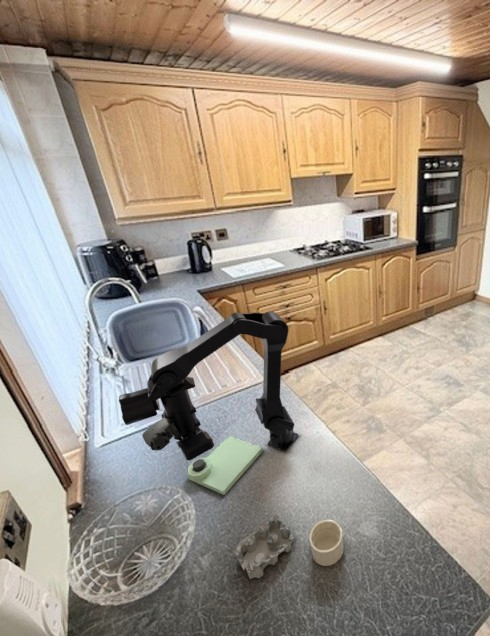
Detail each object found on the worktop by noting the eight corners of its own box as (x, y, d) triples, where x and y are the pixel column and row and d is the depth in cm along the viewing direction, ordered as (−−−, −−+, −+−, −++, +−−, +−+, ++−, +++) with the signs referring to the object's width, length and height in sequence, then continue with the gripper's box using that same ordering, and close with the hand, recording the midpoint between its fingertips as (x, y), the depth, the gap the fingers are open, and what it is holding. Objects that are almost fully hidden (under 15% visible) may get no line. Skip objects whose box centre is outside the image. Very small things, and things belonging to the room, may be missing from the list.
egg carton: (251, 586, 67) (247, 574, 65) (235, 557, 72) (230, 545, 70) (298, 546, 73) (295, 534, 72) (279, 522, 78) (276, 510, 77)
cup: (322, 529, 76) (320, 515, 74) (349, 541, 74) (347, 526, 72) (306, 559, 71) (303, 544, 69) (334, 573, 68) (332, 557, 66)
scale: (228, 438, 102) (226, 430, 101) (263, 451, 97) (261, 443, 96) (185, 479, 90) (182, 471, 89) (223, 496, 85) (220, 488, 84)
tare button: (200, 461, 92) (198, 457, 91) (207, 465, 90) (206, 460, 90) (191, 469, 89) (189, 465, 89) (199, 473, 88) (197, 469, 88)
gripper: (130, 404, 82) (150, 451, 89) (151, 446, 70) (173, 498, 77) (179, 383, 89) (194, 429, 96) (206, 419, 77) (222, 469, 83)
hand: (195, 454), depth 88 cm, fingers closed
